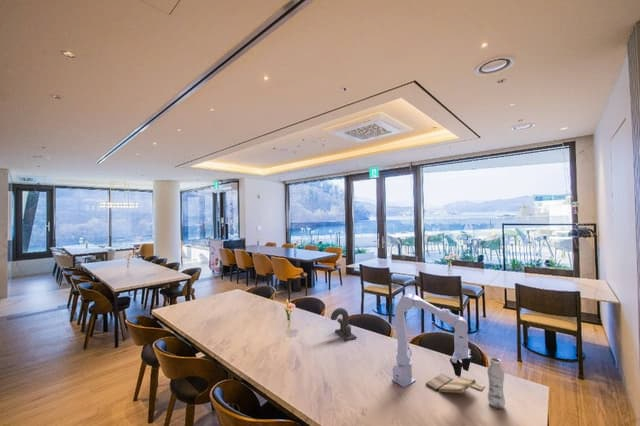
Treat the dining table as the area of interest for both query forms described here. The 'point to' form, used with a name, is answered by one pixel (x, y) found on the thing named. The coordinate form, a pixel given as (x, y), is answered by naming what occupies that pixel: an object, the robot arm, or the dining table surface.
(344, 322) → the faucet
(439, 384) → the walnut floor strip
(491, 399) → the plastic bottle
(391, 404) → the dining table surface
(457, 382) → the oak plank
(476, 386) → the plank
